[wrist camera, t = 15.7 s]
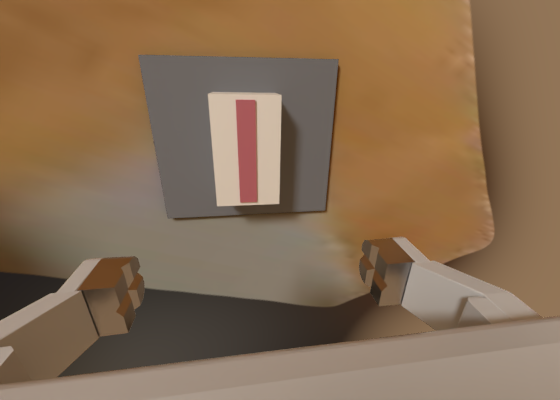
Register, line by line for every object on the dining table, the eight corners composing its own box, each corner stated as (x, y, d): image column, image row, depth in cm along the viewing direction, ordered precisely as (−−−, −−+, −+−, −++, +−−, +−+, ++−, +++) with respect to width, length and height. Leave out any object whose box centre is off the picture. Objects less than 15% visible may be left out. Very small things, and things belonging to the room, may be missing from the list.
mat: (169, 215, 30) (167, 218, 30) (141, 55, 24) (138, 54, 23) (323, 207, 33) (325, 210, 32) (335, 59, 26) (338, 59, 26)
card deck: (212, 91, 25) (207, 93, 21) (275, 92, 26) (281, 95, 22) (219, 190, 29) (216, 207, 25) (274, 189, 30) (279, 204, 26)
